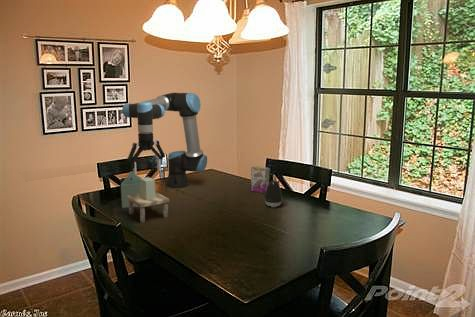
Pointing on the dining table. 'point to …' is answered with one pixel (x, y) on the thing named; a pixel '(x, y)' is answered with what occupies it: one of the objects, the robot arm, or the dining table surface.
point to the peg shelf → (147, 204)
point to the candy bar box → (259, 178)
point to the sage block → (147, 188)
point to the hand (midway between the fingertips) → (147, 172)
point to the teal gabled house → (130, 188)
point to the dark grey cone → (273, 194)
